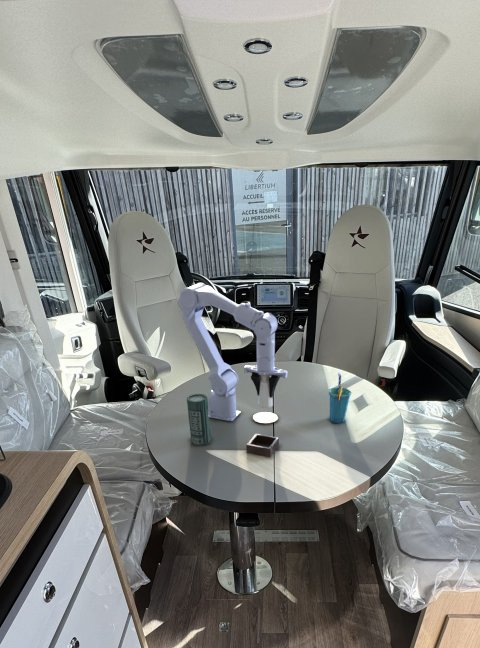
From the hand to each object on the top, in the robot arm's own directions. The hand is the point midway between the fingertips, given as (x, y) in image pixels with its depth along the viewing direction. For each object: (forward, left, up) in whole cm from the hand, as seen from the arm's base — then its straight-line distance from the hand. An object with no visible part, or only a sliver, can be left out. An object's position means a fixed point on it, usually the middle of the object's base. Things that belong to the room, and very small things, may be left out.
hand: (265, 395), depth 149 cm
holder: (+6, -17, -10) cm, 21 cm away
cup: (+23, +13, -11) cm, 28 cm away
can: (-15, -19, -11) cm, 27 cm away
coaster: (-1, +4, -10) cm, 11 cm away
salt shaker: (0, 0, -4) cm, 4 cm away
